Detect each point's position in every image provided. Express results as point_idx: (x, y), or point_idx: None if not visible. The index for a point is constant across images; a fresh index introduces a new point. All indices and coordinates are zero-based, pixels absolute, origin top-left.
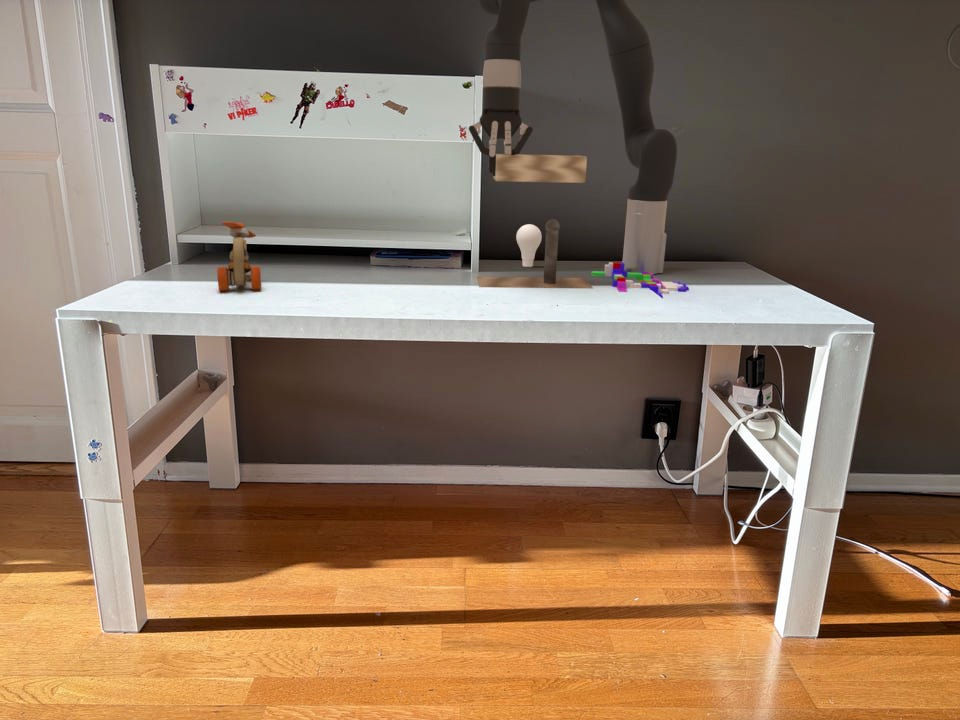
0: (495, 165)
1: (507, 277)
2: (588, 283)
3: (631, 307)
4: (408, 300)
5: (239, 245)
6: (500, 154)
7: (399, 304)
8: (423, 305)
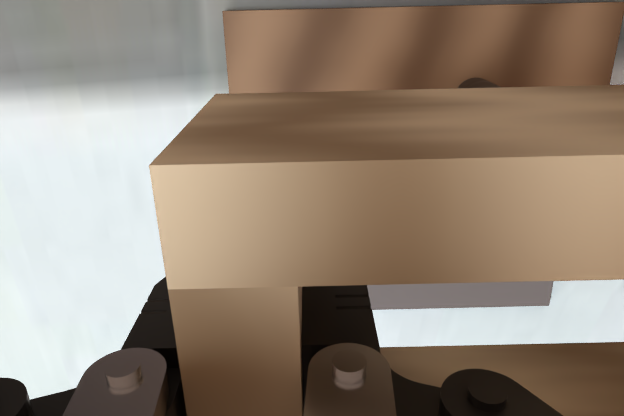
0: None
1: (336, 17)
2: None
3: (615, 320)
4: (60, 290)
5: None
6: (254, 357)
7: (50, 328)
8: (109, 333)
